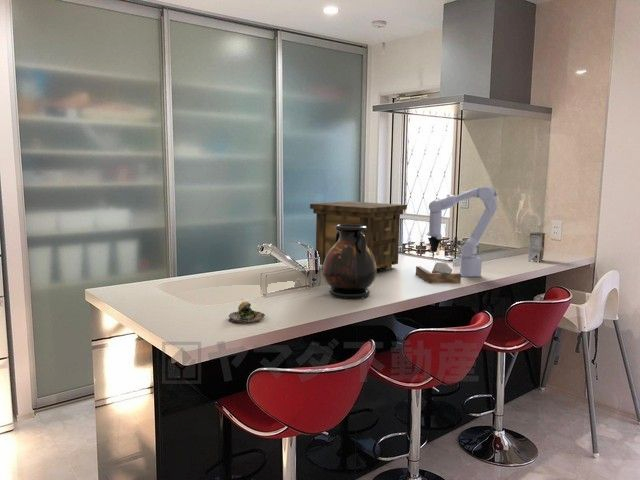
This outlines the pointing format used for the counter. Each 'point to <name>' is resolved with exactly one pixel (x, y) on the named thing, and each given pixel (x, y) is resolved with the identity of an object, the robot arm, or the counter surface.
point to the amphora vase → (349, 263)
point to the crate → (372, 215)
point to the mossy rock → (245, 314)
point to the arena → (438, 276)
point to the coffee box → (536, 246)
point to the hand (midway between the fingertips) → (433, 251)
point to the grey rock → (441, 268)
